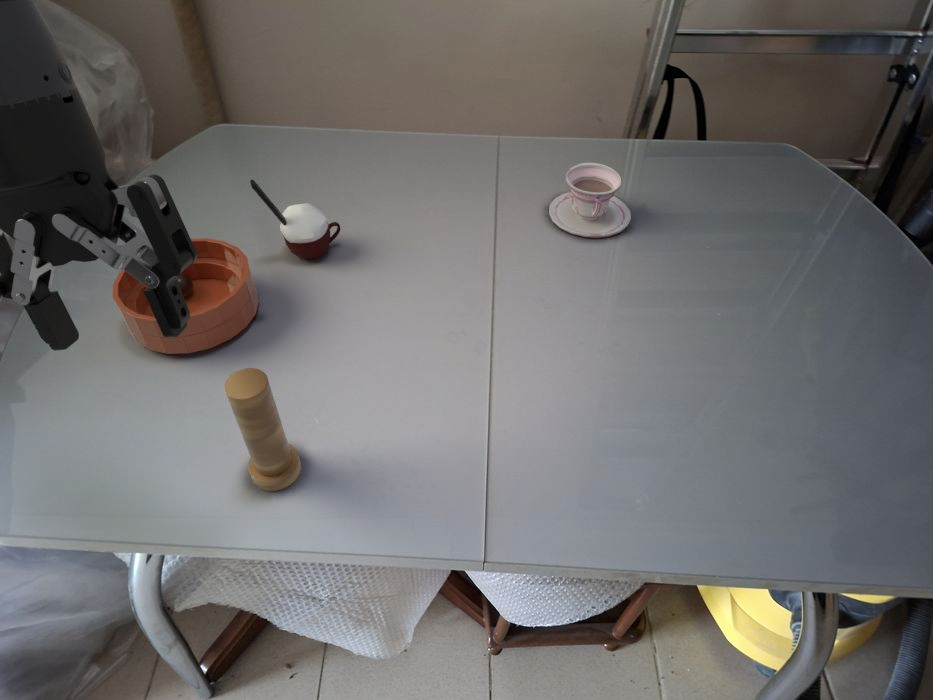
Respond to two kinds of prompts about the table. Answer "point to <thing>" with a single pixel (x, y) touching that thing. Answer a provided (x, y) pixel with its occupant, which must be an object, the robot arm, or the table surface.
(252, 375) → the wooden flanged peg
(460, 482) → the table surface
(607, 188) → the teacup
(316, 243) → the cocoa
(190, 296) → the bowl
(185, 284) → the bead
